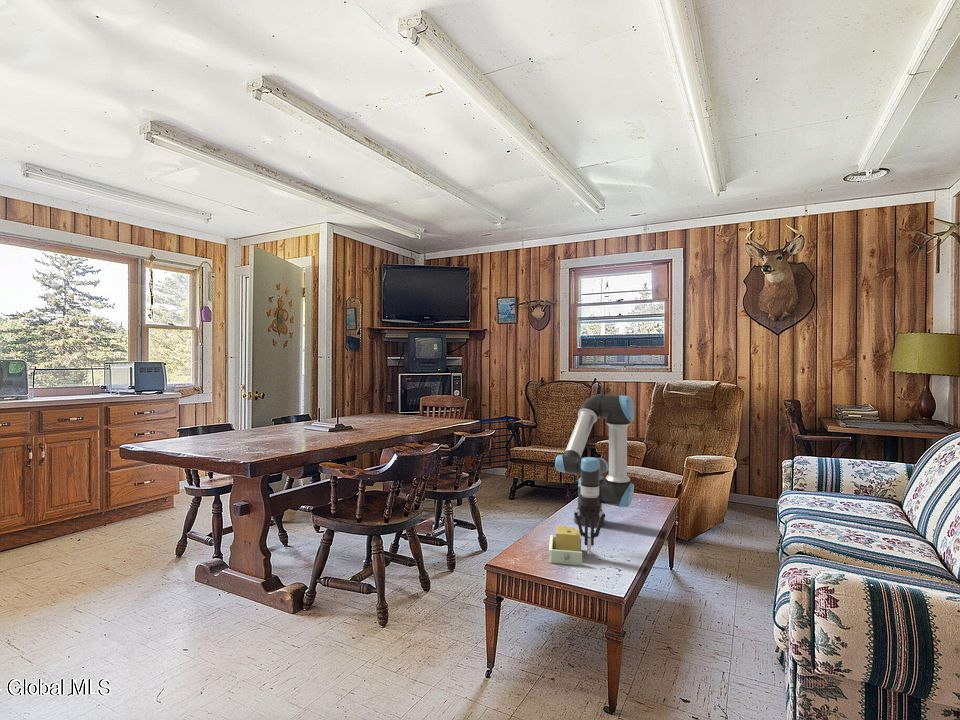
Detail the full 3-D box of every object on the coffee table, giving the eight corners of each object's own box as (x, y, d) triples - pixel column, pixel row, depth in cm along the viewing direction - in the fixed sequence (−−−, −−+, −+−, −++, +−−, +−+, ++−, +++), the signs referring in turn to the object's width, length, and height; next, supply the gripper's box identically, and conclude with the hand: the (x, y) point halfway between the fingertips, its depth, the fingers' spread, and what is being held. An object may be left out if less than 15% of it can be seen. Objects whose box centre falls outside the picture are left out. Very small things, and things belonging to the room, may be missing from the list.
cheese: (580, 550, 218) (580, 526, 218) (580, 559, 207) (580, 535, 207) (556, 548, 220) (556, 525, 220) (554, 557, 209) (554, 533, 209)
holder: (550, 546, 222) (550, 534, 222) (580, 548, 220) (581, 537, 220) (548, 563, 203) (548, 550, 203) (582, 566, 201) (582, 553, 201)
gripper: (574, 497, 208) (573, 555, 208) (606, 498, 206) (605, 557, 206) (573, 492, 216) (572, 548, 215) (605, 494, 213) (604, 551, 213)
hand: (588, 553), depth 211 cm, fingers closed
